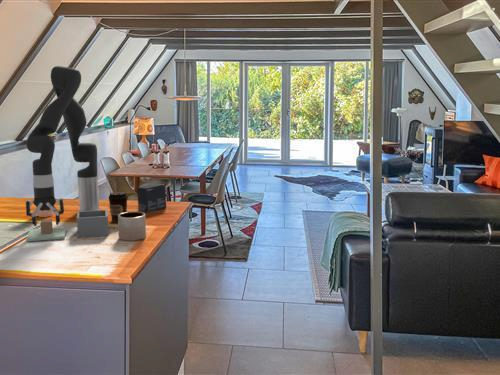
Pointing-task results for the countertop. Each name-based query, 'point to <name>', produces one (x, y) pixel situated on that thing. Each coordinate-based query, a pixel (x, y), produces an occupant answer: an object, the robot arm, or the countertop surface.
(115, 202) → the coffee cup
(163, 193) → the small box
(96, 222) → the bin
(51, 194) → the robot arm
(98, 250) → the countertop surface
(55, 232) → the lid
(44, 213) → the pepper shaker
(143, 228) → the planter
